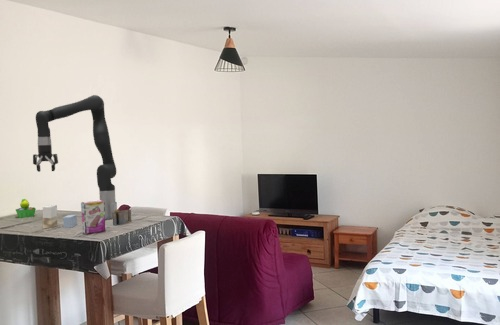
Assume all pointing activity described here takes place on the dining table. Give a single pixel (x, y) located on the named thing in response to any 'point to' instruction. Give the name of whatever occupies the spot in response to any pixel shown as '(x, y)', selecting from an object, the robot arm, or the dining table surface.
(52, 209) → the white block
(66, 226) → the blue block
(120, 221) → the architectural model on board
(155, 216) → the dining table surface
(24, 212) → the fruit basket
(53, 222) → the oak block
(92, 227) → the candy bar box
